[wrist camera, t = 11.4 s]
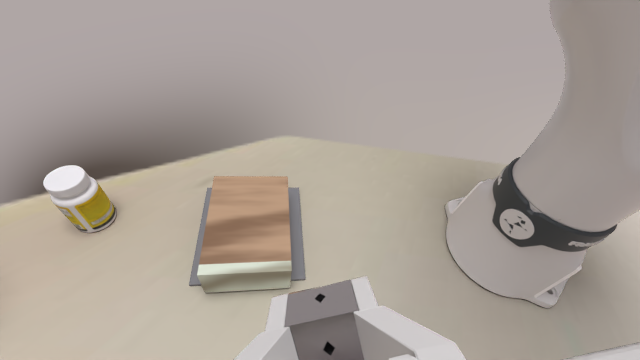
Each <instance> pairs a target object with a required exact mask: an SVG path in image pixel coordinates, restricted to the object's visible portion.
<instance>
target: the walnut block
mask: <svg viewBox="0 0 640 360" xmlns="http://www.w3.org/2000/svg"><path fill="white" fill-rule="evenodd" d="M291 272H292V266H291V243H290V219H289V196H288V177H239V176H214V180H213V186H212V192H211V197H210V203H209V209H208V215H207V220H206V226H205V232H204V238H203V244H202V249H201V255H200V261H199V267H198V272H197V276H198V279H199V281H200V283H201V285H202V287H203V289H204V291H205V293H210V292H228V291H245V290H262V289H280V288H290V282H291Z"/></svg>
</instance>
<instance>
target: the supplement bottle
mask: <svg viewBox="0 0 640 360" xmlns="http://www.w3.org/2000/svg"><path fill="white" fill-rule="evenodd" d="M43 184H44V187H45V189H46V190H47V191H48V192H49V194H50V197H51V200H52V202H53V203H54V204H55V205H56V206H57V207H58V208H59V210H60V211H61V212H62V213H63V214H64V215H65V216H66V217H67V218H68V219H69V220H70V221H71V222H72V223H73V224H74V225H75V226H76V228H78V229H79V230H80V231H82V232H87V233H91V232H96V231H100V230H102V229H104V228H106V227H108V226H109V225H110V224H111V223H112V222H113V221H114V219H115V217H116V209H115V207H114V205H113V204H112V203H111V201H110V200H109V198H108V197H107V196H106V194H105V193H104V191H103V190H102V188H101V187H100V186H99V184H98V183H97V181H96V180H95V179H93V178H91V177H89V176H88V174H87V173H86V172H85V171H84V170H83V169H82V168H81V167H78V166H74V165H70V166H63V167H60V168H57V169H55V170H54V171H52V172H50V173H49V174H48V175H47V176H46V177H45V179H44V182H43Z"/></svg>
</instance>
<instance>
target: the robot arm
mask: <svg viewBox="0 0 640 360" xmlns="http://www.w3.org/2000/svg"><path fill="white" fill-rule="evenodd" d="M550 14H551V19H552V23H553V26H554V28H555V30H556V32H557V34H558V36H559V39H560V42H561V44H562V47H563V52H564V58H565V82H564V87H563V92H562V95H561V98H560V101H559V104H558V106H557V108H556V110H555V112H554V114H553V115H552V117H551V119H550V120H549V121H548V123H547V124H546V126H545V127H544V129H543V130H542V131H541V133H540V134H539V135H538V137H537V138H536V139H535V141H534V142H533V143H532V144H531V145H530V147H529V148H528V149H527V150H526V152H525V153H524V154H523V155H522V156H521V157H519V158H516V159H515V160H513V161H512V162H511V163H510V164H509V165H508V166H506V167H505V168H504V169H503V170H502V172H501V173H500V175H499V176H498V177H496V178H495V179H487V180H485V181H481V182H479V183H478V184H477V185H476V186H475V187H474V188H473V189H472V190H471V191H470V192H469V194H468V195H467V196H466V197H462V198H458V199H454V200H450V201H449V202H448V203H447V204H446V205H445V210H446V214H447V217H448V224H447V229H446V239H447V244H448V247H449V250H450V252H451V254H452V256H453V258H454V259H455V261H456V262H457V264H458V265H459V266H460V268H461V269H462V270H463V271H464V272H465V273H466V274H467V275H468V276H469V277H470V278H471V279H472V280H474V281H475V282H476V283H478V284H479V285H481V286H482V287H484V288H486V289H487V290H489V291H491V292H494V293H496V294H499V295H502V296H506V297H511V298H521V299H526V300H528V301H530V302H532V303H535V304H537V305H539V306H542V307H545V308H550V307H552V306H553V305H555V304H556V302H557V301H558V299H559V297H560V295H561V293H562V291H563V289H564V287H565V285H566V283H567V281H568V279H569V277H571V276H572V275H574V274H576V273H577V272H579V271H580V270H581V269H582V266H581V264H582V262H583V261H584V259H585V255H586V252H587V249H588V248H589V247H591V246H593V245H595V244H598V243H599V242H601V241H602V240H604V238H606V237H607V236H608V235H609V234H611V233H612V232H613V231H614V230H615V229H616V227H617V224H618V223H619V222H621V221H622V220H624V219H626V218H627V217H629V216H631V215H632V214H634V213H635V212H637V211H639V210H640V0H550ZM547 291H548V292H549V293H548V292H547ZM234 360H466V358H465V357H464V355H463V354H462V352H461V351H460V349H459V348H458V346H457V345H456V343H455V342H453V341H451V340H449V339H447V338H445V337H443V336H441V335H440V334H438V333H436V332H434V331H432V330H430V329H428V328H426V327H424V326H422V325H420V324H418V323H416V322H414V321H413V320H411V319H409V318H407V317H405V316H403V315H401V314H399V313H397V312H395V311H393V310H391V309H389V308H388V307H386V306H378V303H377V300H376V298H375V295H374V293H373V290H372V287H371V285H370V282H369V279H368V277H367V276H362V277H359V278H355V279H351V280H347V281H343V282H339V283H335V284H331V285H327V286H323V287H317V288H312V289H307V290H302V291H297V292H292V293H289V294H288V293H287V294H282V295H278V296H274V297H273V298H272V299H271V303H270V308H269V313H268V318H267V322H266V327H265V332H262V333H259V334H258V335H257V336H256V337H255V338H254V339H253V340H252V341H251V342H250V343H249V344H248V345H247V346H246V347H245V348H244V349H243V350H242V352H241V353H240V354H239V355H238V356H237V357H236V358H235V359H234ZM562 360H640V342H638V343H634V344H629V345H625V346H620V347H616V348H611V349H607V350H602V351H598V352H593V353H589V354H584V355H580V356H575V357H571V358H566V359H562Z"/></svg>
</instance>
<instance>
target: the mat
mask: <svg viewBox="0 0 640 360" xmlns="http://www.w3.org/2000/svg"><path fill="white" fill-rule="evenodd" d="M211 192H212V188H207V192H206V198H205V203H204V208H203V214H202V219H201V224H200V229H199V235H198V240H197V245H196V251H195V256H194V261H193V266H192V272H191V277H190V282H189V286H199V285H201V283H200V281H199V279H198V276H197V272H198V267H199V261H200V255H201V249H202V244H203V238H204V232H205V226H206V220H207V215H208V209H209V203H210V197H211ZM288 196H289V219H290V243H291V266H292V272H291V281H296V280H305V267H304V253H303V239H302V225H301V210H300V196H299V188H288Z"/></svg>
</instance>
